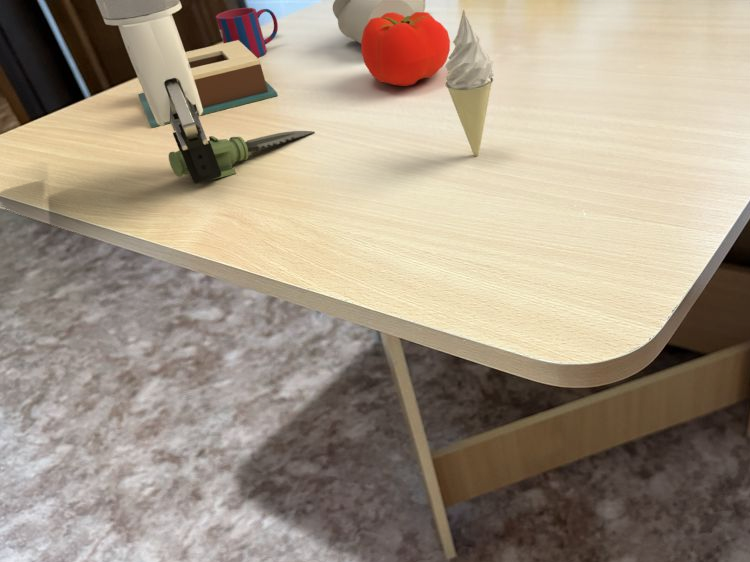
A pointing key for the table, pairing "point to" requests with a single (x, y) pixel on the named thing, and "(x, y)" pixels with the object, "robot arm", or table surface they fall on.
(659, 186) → the table surface
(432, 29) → the tomato
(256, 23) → the mug
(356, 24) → the bent grey cylinder
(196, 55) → the tissue dispenser
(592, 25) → the table surface
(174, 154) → the knife
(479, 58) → the ice cream cone
